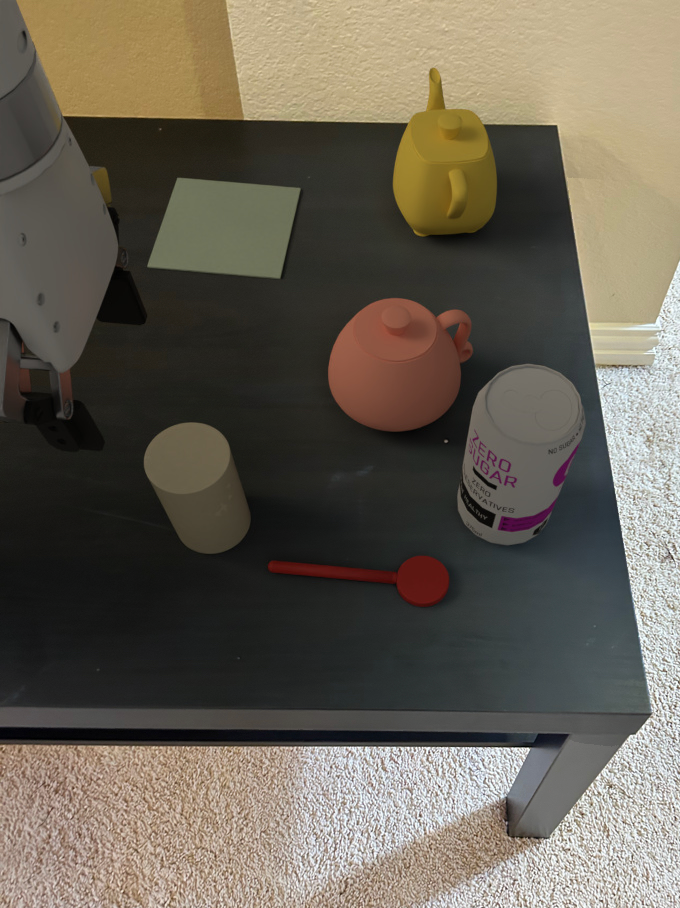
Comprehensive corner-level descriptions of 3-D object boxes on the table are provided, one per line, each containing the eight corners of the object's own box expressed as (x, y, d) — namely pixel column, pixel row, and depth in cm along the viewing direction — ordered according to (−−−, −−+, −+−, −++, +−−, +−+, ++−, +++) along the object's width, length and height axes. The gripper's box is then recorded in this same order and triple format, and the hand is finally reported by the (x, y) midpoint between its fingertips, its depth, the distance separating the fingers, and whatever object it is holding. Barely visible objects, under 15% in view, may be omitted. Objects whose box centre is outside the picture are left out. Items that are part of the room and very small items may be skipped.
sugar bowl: (312, 363, 73) (303, 283, 64) (444, 325, 76) (452, 243, 67) (356, 462, 68) (352, 390, 59) (495, 417, 71) (512, 342, 62)
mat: (147, 267, 79) (146, 266, 78) (178, 179, 85) (177, 177, 85) (280, 279, 78) (280, 277, 78) (300, 189, 85) (300, 187, 85)
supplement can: (558, 483, 68) (601, 375, 54) (535, 561, 64) (575, 465, 51) (472, 457, 69) (493, 344, 56) (444, 532, 65) (461, 431, 52)
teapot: (382, 158, 88) (382, 64, 78) (475, 152, 89) (486, 58, 79) (403, 269, 80) (407, 179, 70) (505, 261, 81) (522, 171, 71)
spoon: (264, 592, 62) (262, 587, 61) (273, 545, 64) (271, 540, 63) (446, 609, 62) (447, 605, 61) (450, 561, 64) (451, 556, 63)
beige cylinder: (168, 550, 64) (133, 489, 55) (185, 486, 67) (155, 418, 58) (243, 557, 64) (220, 497, 55) (256, 492, 67) (237, 425, 58)
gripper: (-51, -12, 35) (83, 273, 50) (-229, 252, 27) (-7, 494, 42) (108, 0, 35) (194, 282, 50) (-25, 269, 27) (125, 507, 42)
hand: (102, 379), depth 46 cm, fingers open, 9 cm apart
